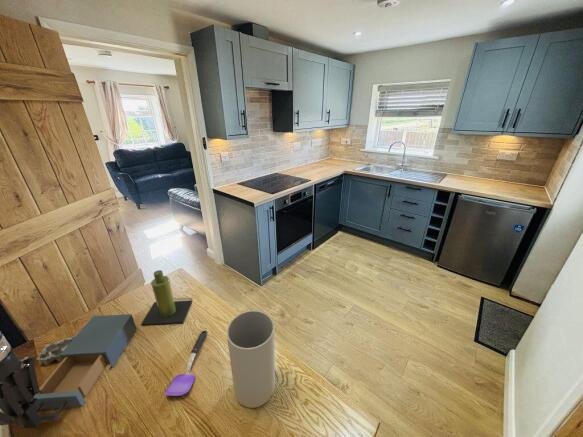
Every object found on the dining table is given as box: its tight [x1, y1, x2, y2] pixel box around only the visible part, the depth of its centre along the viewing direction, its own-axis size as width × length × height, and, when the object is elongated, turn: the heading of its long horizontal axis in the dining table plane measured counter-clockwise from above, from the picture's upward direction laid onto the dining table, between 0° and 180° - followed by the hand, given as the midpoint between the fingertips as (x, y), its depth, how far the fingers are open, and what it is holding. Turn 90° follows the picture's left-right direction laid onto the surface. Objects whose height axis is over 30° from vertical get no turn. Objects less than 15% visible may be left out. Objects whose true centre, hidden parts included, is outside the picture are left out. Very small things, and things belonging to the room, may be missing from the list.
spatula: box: [164, 330, 208, 397], centre depth 80 cm, size 24×7×2 cm, turn 178°
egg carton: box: [36, 333, 78, 366], centre depth 82 cm, size 11×8×4 cm
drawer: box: [33, 354, 108, 422], centre depth 70 cm, size 19×12×6 cm, turn 5°
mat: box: [140, 300, 193, 327], centre depth 99 cm, size 16×12×1 cm
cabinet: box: [60, 313, 137, 369], centre depth 83 cm, size 16×14×8 cm
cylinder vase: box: [226, 310, 276, 409], centre depth 69 cm, size 12×12×25 cm
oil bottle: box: [150, 269, 176, 317], centre depth 95 cm, size 6×6×20 cm
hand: (33, 424), depth 59 cm, fingers closed
